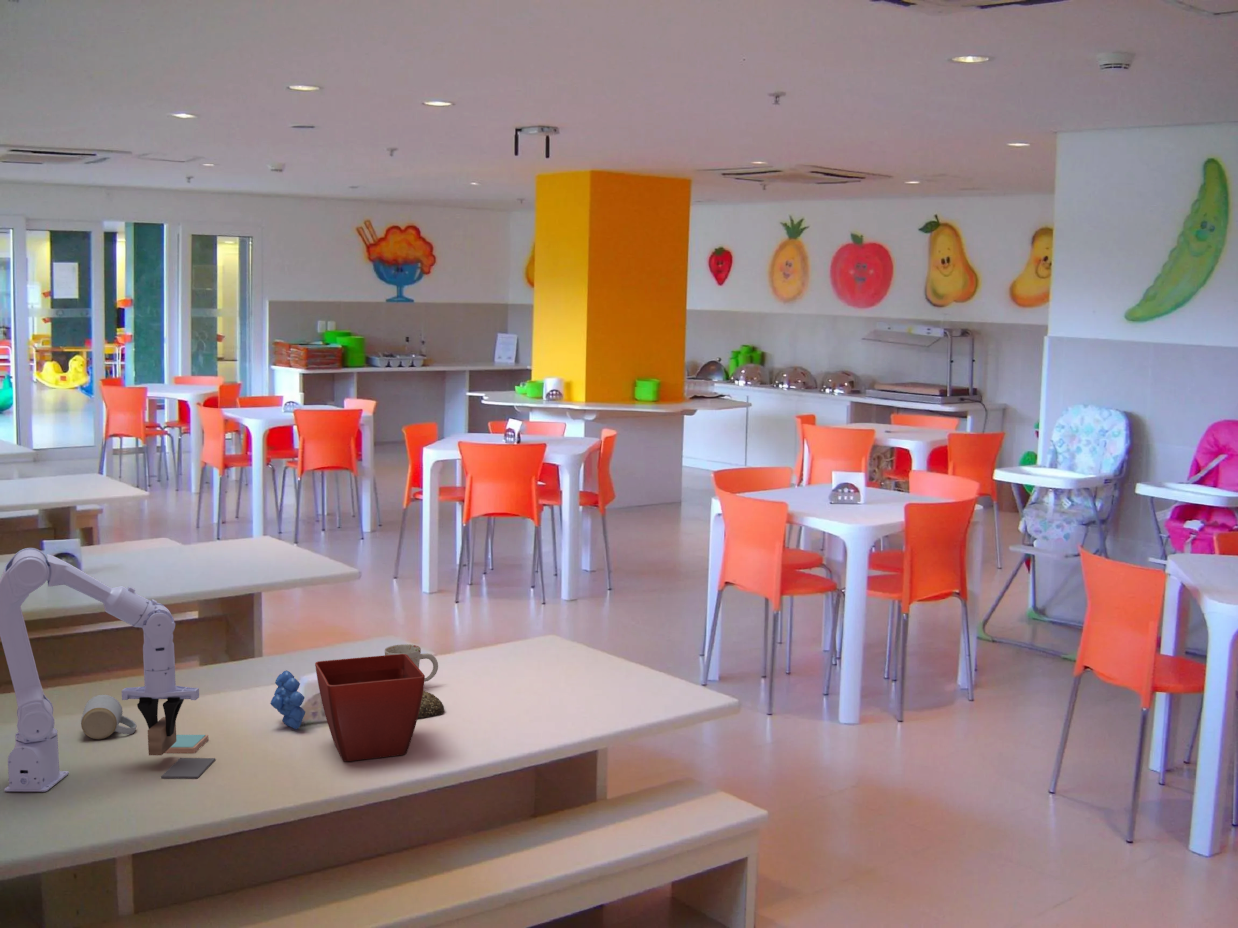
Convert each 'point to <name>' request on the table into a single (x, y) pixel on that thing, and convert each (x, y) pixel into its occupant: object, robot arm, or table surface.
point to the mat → (188, 768)
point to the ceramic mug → (105, 718)
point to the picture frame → (187, 743)
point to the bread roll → (430, 706)
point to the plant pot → (371, 704)
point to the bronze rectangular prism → (160, 738)
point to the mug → (413, 656)
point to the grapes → (288, 700)
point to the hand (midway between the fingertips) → (162, 734)
